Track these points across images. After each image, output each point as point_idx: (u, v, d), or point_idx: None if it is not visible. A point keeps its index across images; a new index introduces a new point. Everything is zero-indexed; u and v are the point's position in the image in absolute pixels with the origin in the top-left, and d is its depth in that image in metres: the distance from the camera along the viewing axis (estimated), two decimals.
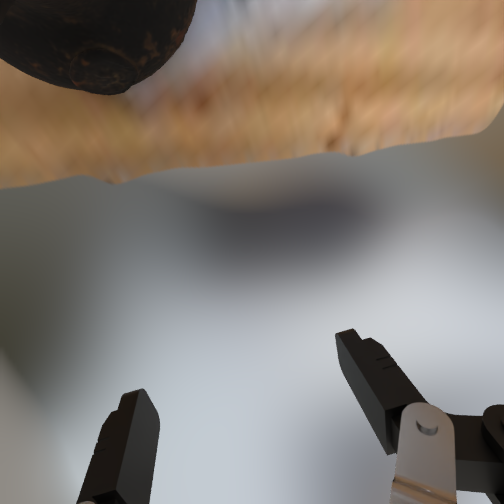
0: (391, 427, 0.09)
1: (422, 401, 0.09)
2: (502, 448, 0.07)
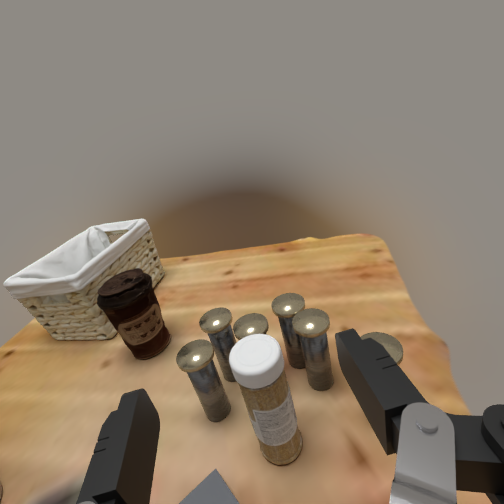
0: (391, 427, 0.09)
1: (422, 401, 0.09)
2: (502, 448, 0.07)
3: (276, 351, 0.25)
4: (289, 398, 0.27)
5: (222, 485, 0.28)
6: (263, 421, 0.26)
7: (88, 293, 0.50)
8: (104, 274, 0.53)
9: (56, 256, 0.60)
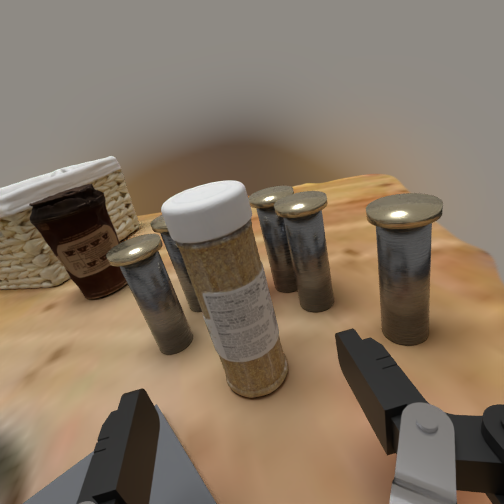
0: (391, 427, 0.09)
1: (422, 401, 0.09)
2: (502, 448, 0.07)
3: (236, 186, 0.15)
4: (263, 282, 0.17)
5: (162, 425, 0.18)
6: (219, 313, 0.17)
7: (24, 224, 0.41)
8: None
9: (6, 192, 0.51)
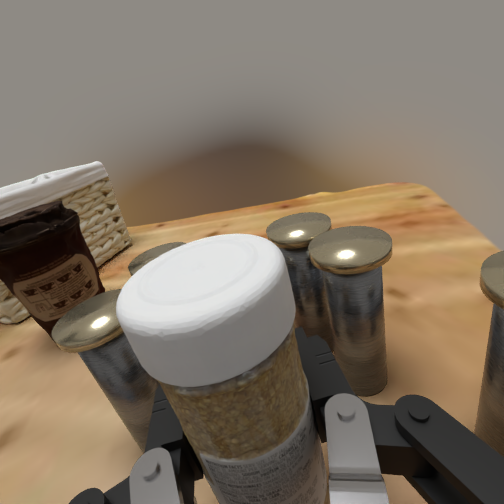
0: (322, 416, 0.10)
1: (350, 392, 0.10)
2: (415, 438, 0.08)
3: (269, 261, 0.07)
4: (310, 417, 0.09)
5: None
6: (232, 487, 0.09)
7: None
8: None
9: None
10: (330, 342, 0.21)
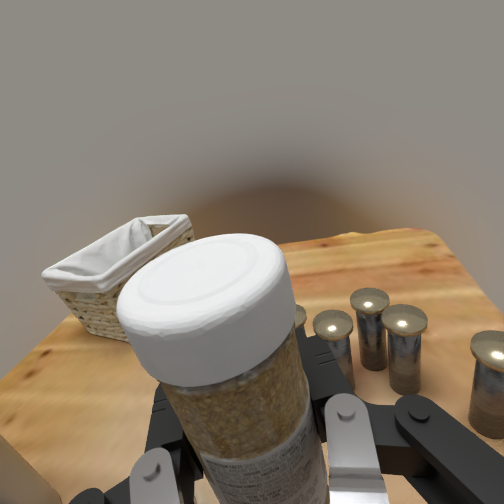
0: (321, 416, 0.10)
1: (350, 392, 0.10)
2: (415, 438, 0.08)
3: (269, 260, 0.07)
4: (310, 417, 0.09)
5: None
6: (233, 487, 0.09)
7: (116, 294, 0.47)
8: None
9: (96, 248, 0.58)
10: (383, 363, 0.35)
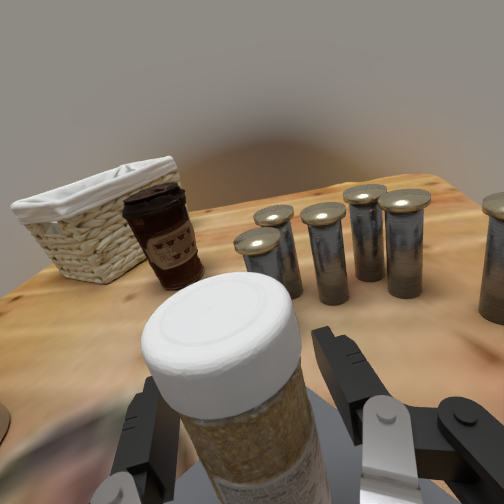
0: (356, 419, 0.09)
1: (386, 394, 0.09)
2: (458, 440, 0.07)
3: (277, 303, 0.08)
4: (315, 443, 0.10)
5: None
6: None
7: (81, 226, 0.43)
8: (104, 208, 0.45)
9: (75, 188, 0.55)
10: (381, 272, 0.32)
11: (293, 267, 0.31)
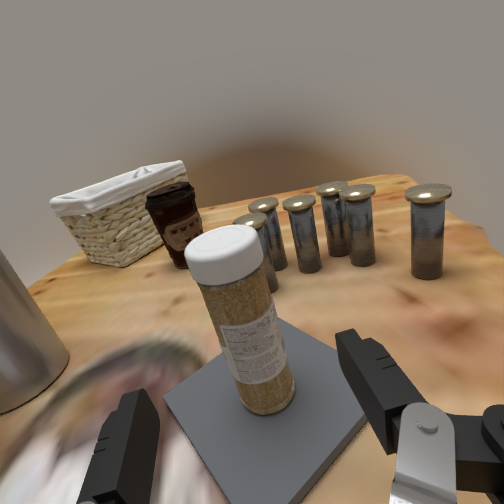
0: (391, 427, 0.09)
1: (422, 401, 0.09)
2: (502, 448, 0.07)
3: (250, 234, 0.17)
4: (273, 314, 0.19)
5: (282, 323, 0.30)
6: (235, 343, 0.19)
7: (104, 218, 0.53)
8: (123, 204, 0.55)
9: (101, 187, 0.65)
10: (346, 249, 0.41)
11: (279, 245, 0.41)
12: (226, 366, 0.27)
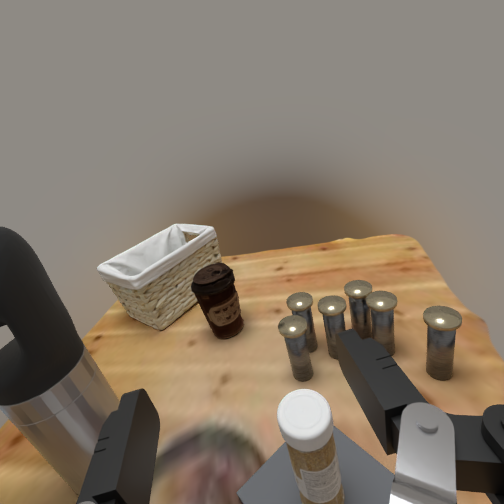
0: (391, 427, 0.09)
1: (422, 401, 0.09)
2: (502, 448, 0.07)
3: (326, 412, 0.24)
4: (336, 456, 0.26)
5: None
6: (310, 480, 0.26)
7: (146, 291, 0.60)
8: (163, 277, 0.61)
9: (140, 249, 0.72)
10: (369, 336, 0.48)
11: (312, 333, 0.48)
12: (284, 465, 0.34)
